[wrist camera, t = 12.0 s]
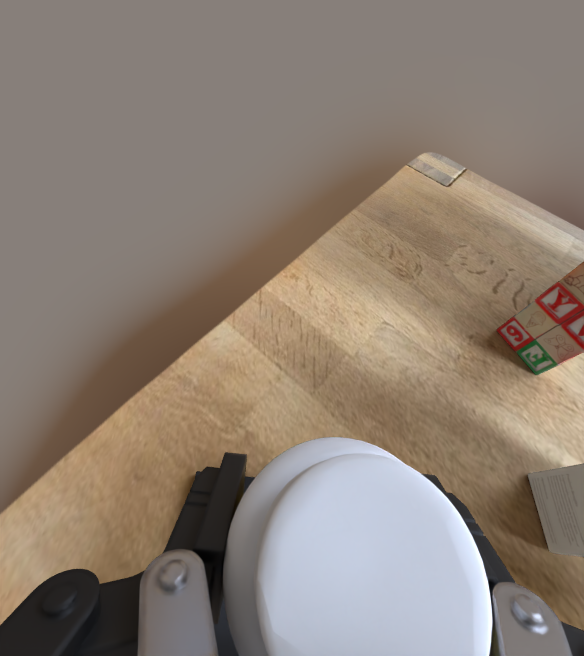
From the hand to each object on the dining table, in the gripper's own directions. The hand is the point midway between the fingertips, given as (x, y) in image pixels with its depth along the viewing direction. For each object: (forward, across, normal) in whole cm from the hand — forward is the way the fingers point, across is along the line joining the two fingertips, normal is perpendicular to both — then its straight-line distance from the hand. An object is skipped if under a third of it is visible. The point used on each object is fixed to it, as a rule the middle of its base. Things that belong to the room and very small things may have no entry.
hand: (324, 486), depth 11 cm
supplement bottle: (+2, 0, +5) cm, 5 cm away
